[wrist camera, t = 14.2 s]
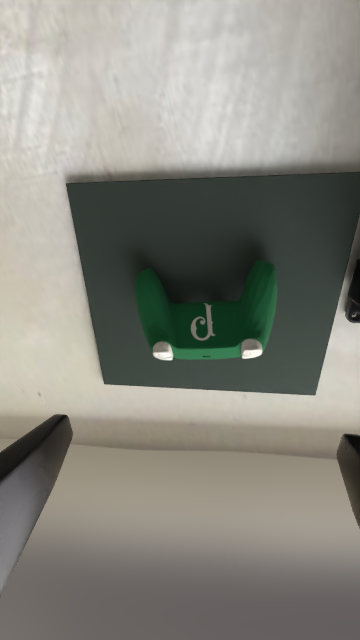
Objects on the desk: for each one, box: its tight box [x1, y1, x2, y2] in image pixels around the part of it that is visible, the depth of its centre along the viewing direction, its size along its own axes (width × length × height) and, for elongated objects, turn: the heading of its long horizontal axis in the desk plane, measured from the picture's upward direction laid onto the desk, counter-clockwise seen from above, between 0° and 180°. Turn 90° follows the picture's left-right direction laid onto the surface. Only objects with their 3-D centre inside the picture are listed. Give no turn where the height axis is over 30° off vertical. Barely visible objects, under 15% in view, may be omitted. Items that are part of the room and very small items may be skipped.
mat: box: [66, 172, 360, 395], centre depth 19 cm, size 18×16×1 cm
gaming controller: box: [135, 260, 277, 360], centre depth 18 cm, size 9×4×6 cm
